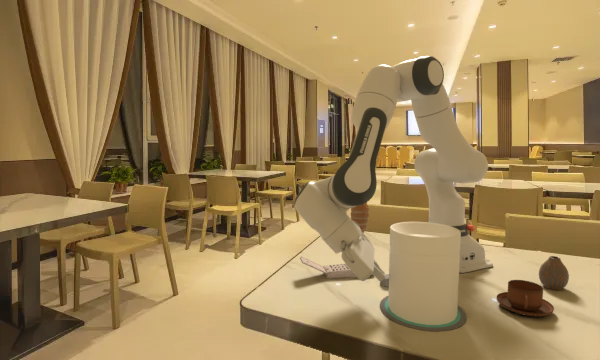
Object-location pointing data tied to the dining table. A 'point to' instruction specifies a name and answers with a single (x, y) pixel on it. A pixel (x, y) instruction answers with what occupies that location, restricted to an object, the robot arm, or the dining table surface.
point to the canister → (424, 272)
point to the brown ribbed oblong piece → (360, 215)
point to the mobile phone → (331, 269)
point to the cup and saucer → (525, 299)
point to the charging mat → (444, 327)
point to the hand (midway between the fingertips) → (382, 277)
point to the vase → (553, 273)
